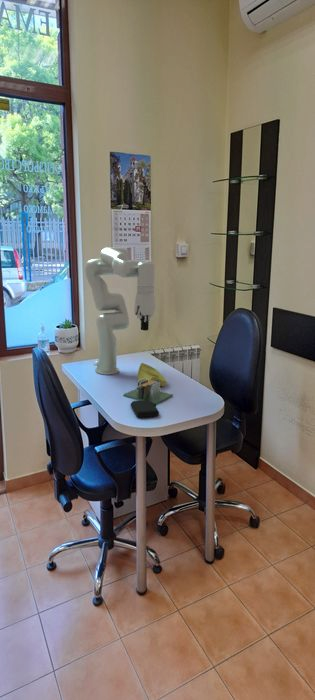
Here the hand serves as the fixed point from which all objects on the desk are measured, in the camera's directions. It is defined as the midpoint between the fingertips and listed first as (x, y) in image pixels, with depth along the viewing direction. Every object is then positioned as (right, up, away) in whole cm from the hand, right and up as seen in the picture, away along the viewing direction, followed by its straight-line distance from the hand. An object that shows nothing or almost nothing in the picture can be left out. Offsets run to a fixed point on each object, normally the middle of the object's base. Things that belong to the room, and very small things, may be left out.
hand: (144, 329), depth 206 cm
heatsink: (+2, -30, -2) cm, 30 cm away
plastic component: (+3, -26, +19) cm, 32 cm away
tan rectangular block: (+2, -29, -2) cm, 29 cm away
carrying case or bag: (+1, -35, -19) cm, 40 cm away
